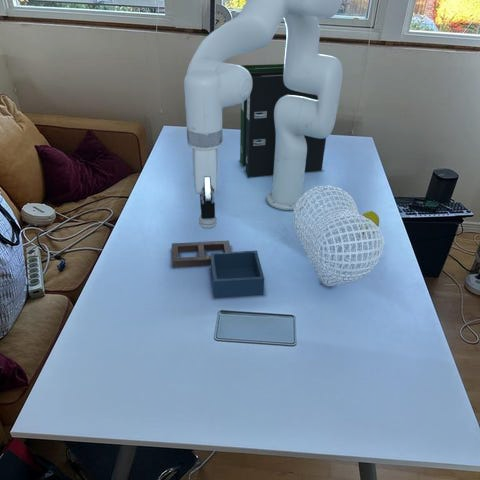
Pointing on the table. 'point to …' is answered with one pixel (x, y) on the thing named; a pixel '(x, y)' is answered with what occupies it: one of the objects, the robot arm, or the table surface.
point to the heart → (336, 236)
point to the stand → (201, 249)
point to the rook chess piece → (207, 222)
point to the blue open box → (236, 274)
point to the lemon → (372, 217)
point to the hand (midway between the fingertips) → (207, 212)
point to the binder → (269, 123)
